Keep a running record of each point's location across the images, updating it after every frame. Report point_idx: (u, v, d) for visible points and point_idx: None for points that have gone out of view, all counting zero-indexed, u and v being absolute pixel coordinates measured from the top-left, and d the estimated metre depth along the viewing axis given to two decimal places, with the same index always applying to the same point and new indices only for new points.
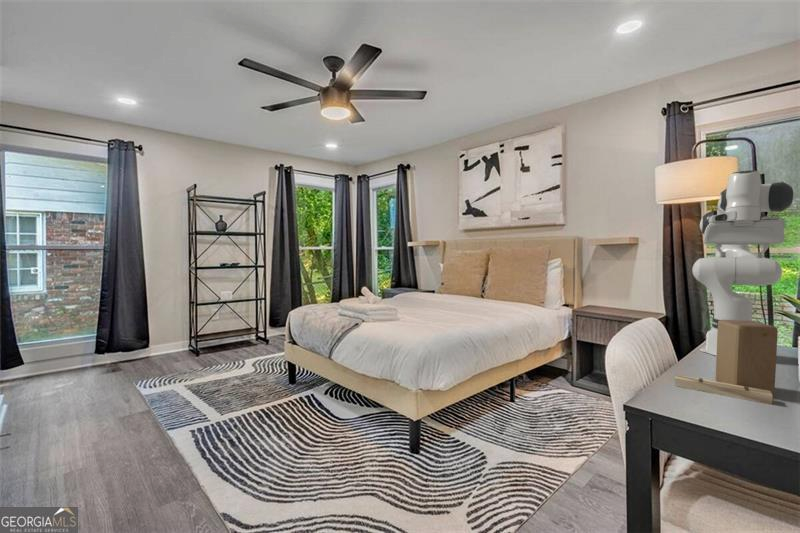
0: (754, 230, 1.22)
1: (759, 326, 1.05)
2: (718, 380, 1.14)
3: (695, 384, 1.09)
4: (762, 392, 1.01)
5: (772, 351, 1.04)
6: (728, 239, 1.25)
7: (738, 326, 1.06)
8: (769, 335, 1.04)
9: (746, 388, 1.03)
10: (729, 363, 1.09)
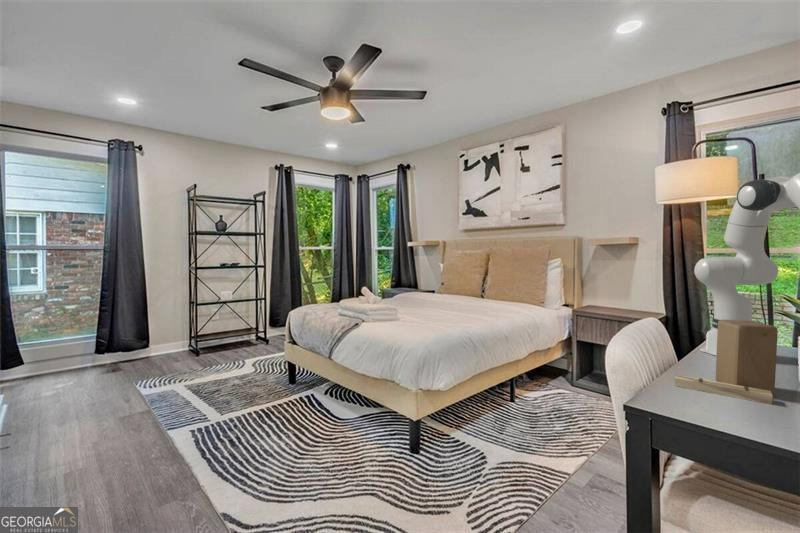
0: None
1: (759, 326, 1.05)
2: (718, 380, 1.14)
3: (695, 384, 1.09)
4: (762, 392, 1.01)
5: (772, 351, 1.04)
6: None
7: (738, 326, 1.06)
8: (769, 335, 1.04)
9: (746, 388, 1.03)
10: (729, 363, 1.09)
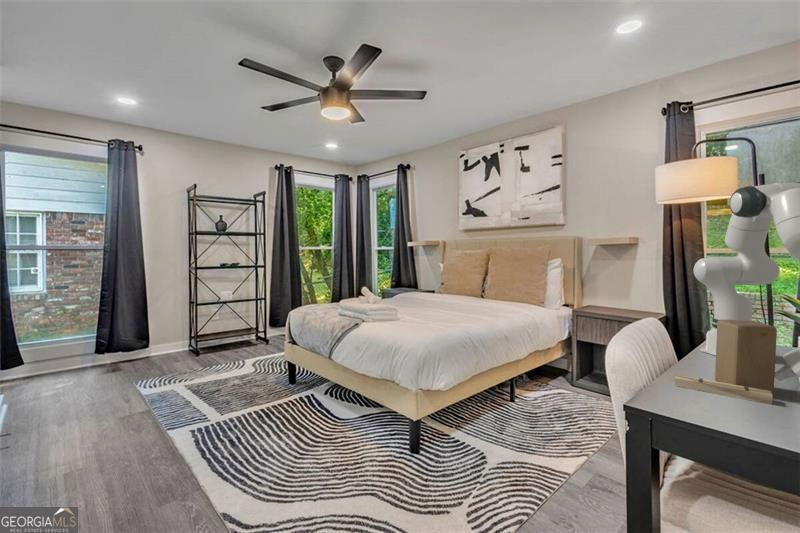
0: None
1: (758, 326, 1.05)
2: (717, 380, 1.14)
3: (695, 384, 1.09)
4: (762, 392, 1.01)
5: (771, 351, 1.04)
6: None
7: (737, 326, 1.06)
8: (768, 335, 1.04)
9: (746, 388, 1.03)
10: (728, 363, 1.09)
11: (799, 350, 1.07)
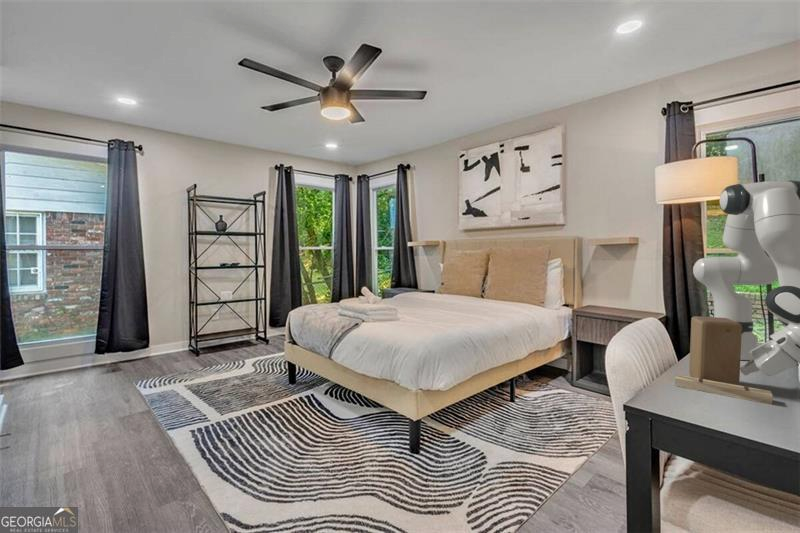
0: None
1: (723, 322, 1.10)
2: (690, 373, 1.20)
3: (695, 384, 1.09)
4: (762, 392, 1.01)
5: (736, 346, 1.09)
6: None
7: (702, 322, 1.12)
8: (733, 331, 1.09)
9: (746, 388, 1.03)
10: (696, 357, 1.15)
11: (764, 346, 1.12)
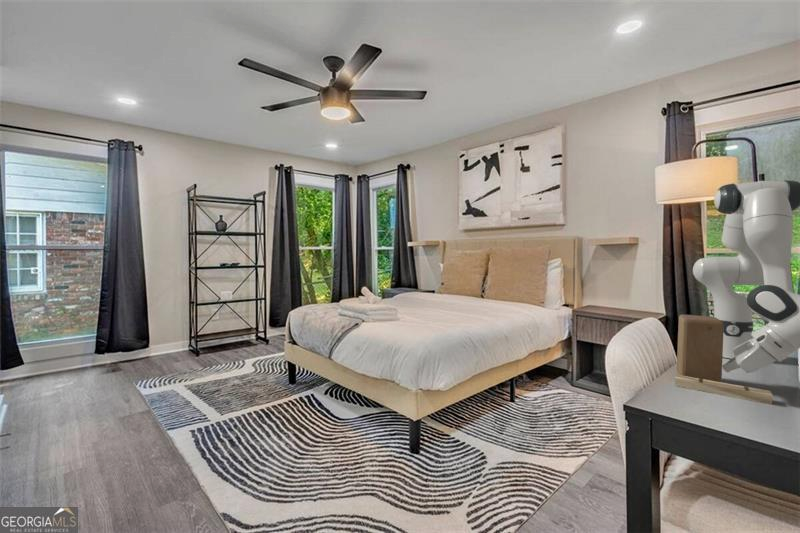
0: None
1: (705, 320, 1.13)
2: (677, 370, 1.23)
3: (695, 384, 1.09)
4: (762, 392, 1.01)
5: (717, 344, 1.12)
6: None
7: (684, 319, 1.16)
8: (714, 329, 1.12)
9: (746, 388, 1.03)
10: (680, 354, 1.19)
11: (746, 343, 1.15)
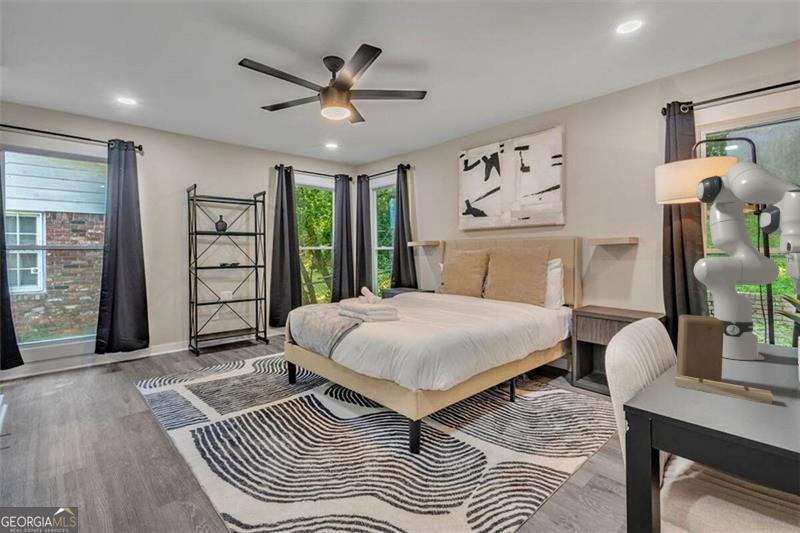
0: None
1: (705, 320, 1.13)
2: (677, 370, 1.23)
3: (695, 384, 1.09)
4: (762, 392, 1.01)
5: (717, 344, 1.12)
6: None
7: (684, 319, 1.16)
8: (714, 329, 1.12)
9: (746, 388, 1.03)
10: (680, 354, 1.19)
11: (789, 261, 1.11)
